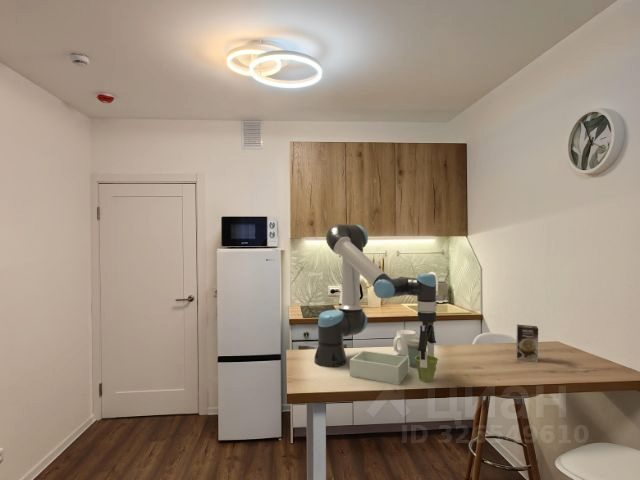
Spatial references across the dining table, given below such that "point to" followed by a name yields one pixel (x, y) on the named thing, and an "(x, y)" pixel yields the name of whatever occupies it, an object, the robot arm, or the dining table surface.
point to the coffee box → (527, 343)
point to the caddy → (379, 367)
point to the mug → (403, 341)
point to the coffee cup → (413, 351)
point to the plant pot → (428, 372)
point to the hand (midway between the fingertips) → (427, 362)
